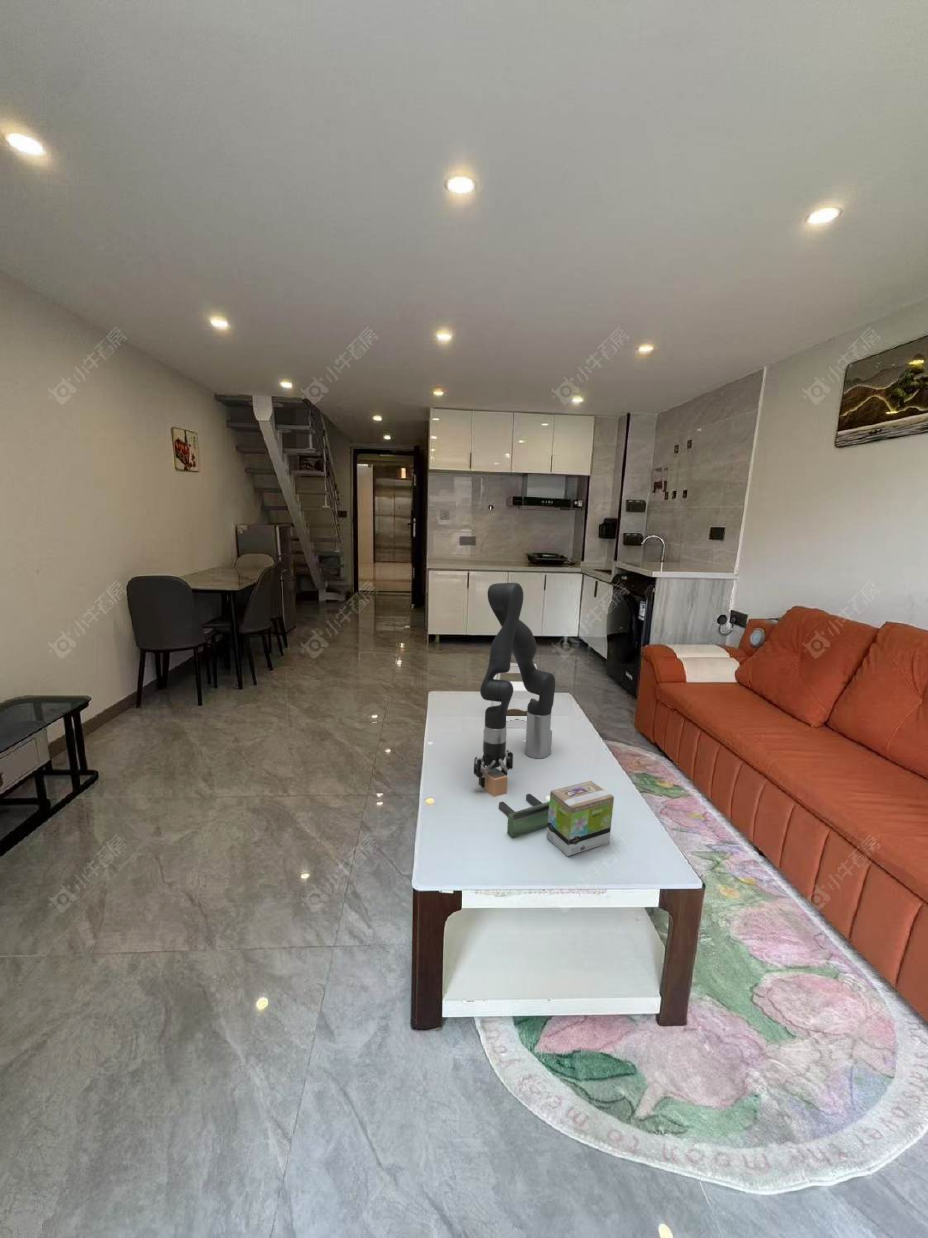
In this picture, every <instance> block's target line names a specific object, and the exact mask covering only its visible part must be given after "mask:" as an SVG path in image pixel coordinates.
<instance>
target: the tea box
mask: <svg viewBox="0 0 928 1238" xmlns="http://www.w3.org/2000/svg"><path fill="white" fill-rule="evenodd" d="M549 792H550V794H549V801H550V802H549V801H548V802H549V813H548V826H546V838H547V839H548V840H549V841H550V842H551V843H552V844H553V845H554V846H555V847H556V848H558V850H560V851H561V852H562V853H563V854H564V855H565V856H567V857H571V856H572V855H575V854H576V855H577V854H579V853H581V852H584V851H588V850H591V849H594V847H595V848H597V847H599V846H600V847H601V846H604V845H607V843H608V844H609V843H610V840H611V830H612V829H611V828H612V818H613V812H614V811H613V808H614V802H615V801H614V800H615V796H614V795H612V794H611V793H610V792H608V791H606V790H605V789H604V788H602V787H600V785H598V784H596V783H595V782H593V780H589V781H586V782H581V783H577V784H573V785H569V786H568V785H567V786H565V787H561V788H557V789H552V790H550V791H549Z"/></svg>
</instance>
